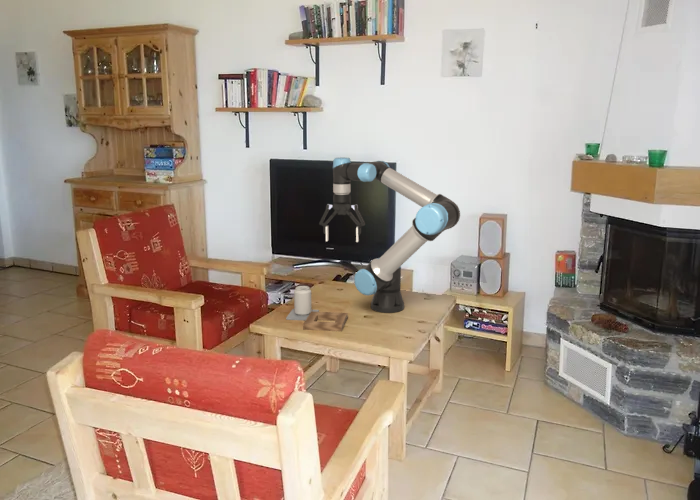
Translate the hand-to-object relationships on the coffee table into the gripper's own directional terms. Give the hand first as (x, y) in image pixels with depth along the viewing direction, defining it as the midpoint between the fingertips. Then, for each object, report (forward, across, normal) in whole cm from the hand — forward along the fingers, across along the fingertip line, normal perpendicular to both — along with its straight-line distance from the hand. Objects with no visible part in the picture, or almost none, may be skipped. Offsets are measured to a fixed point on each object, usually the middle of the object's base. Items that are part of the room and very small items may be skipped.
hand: (342, 241), depth 262 cm
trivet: (+32, +16, +11) cm, 37 cm away
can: (+31, +16, +11) cm, 36 cm away
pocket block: (+32, +4, +20) cm, 38 cm away
